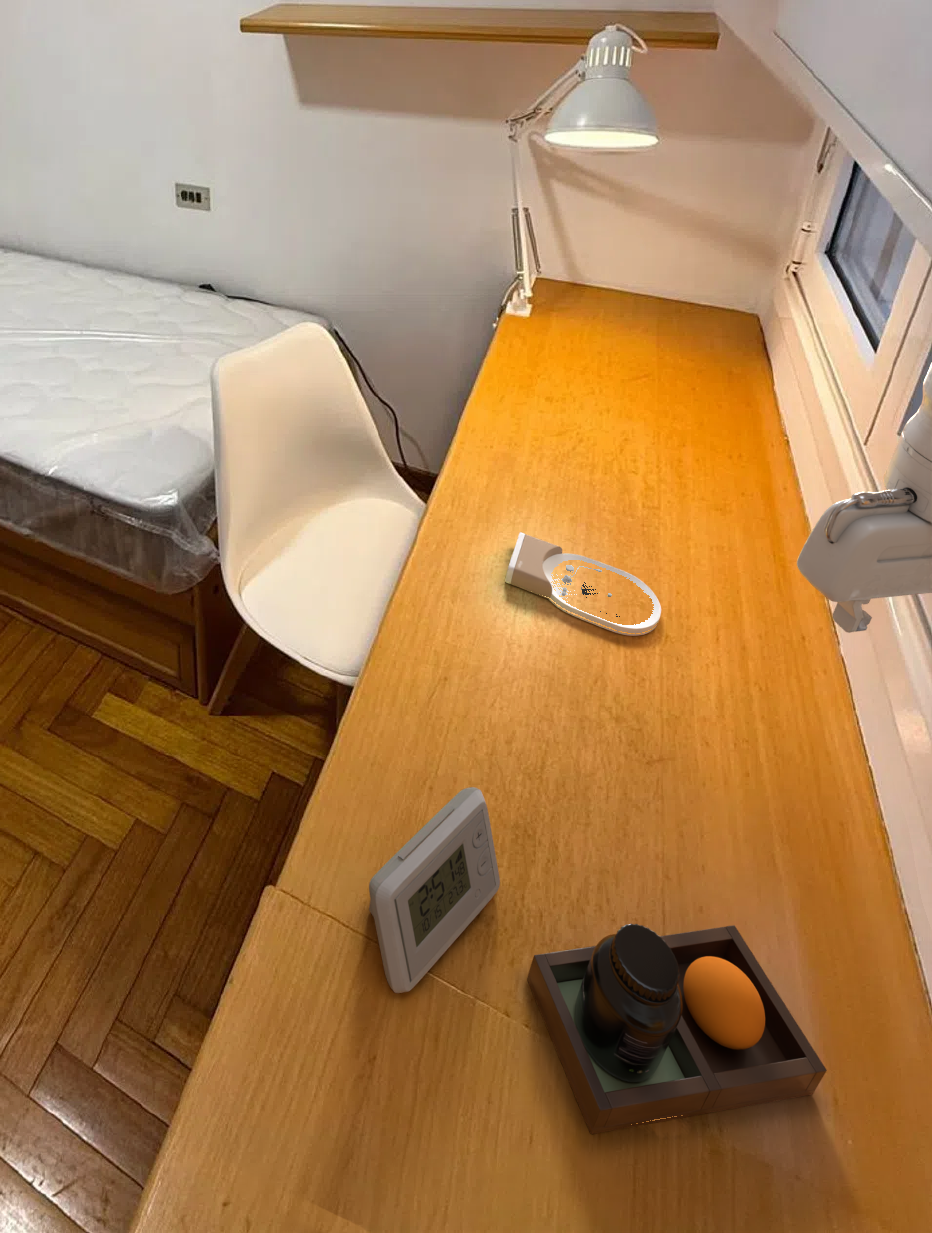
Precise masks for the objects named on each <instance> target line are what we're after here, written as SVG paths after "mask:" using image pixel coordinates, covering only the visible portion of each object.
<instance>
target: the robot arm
mask: <svg viewBox="0 0 932 1233" xmlns="http://www.w3.org/2000/svg"><path fill="white" fill-rule="evenodd" d="M928 368H929V369H928V371H927V373H926V375H925V378H924V380H923V382H922V383H923V384H922V400H921V404H920V406H919V408H918V409H917V411H916V412H915V413H914V414H913V415H912V416H911V417H910V418H909V420H907V422H906V423H905V425H904V427H903V429H902V431H901V433H900V436H899V439H898V441H897V443H896V446H895V448H894V450H893V453H892V455H891V457H890V459H889V462H888V464H887V467H886V469H885V471H884V473H883V476H882V483H883V485H884V487H885V490H881V491H876V492H875V491H873V492H872V491H861V492H860V491H859V492H857V493H854V494H852V495H851V497H850V498H847V499H842V500H839V501H837V502H835V503H832V504H831V505H830V506H829V507H827V509H826V510H825V511H823V514H821V516H820V517H819V519H818V520H817V521H816V523H815V525H814V526H813V528H812V530H811V532H810V533H809V535H808V537H807V539H806V540H805V543H804V544H803V547H802V549H801V551H800V552H799V555H798V557H797V559H796V567H797V569H798V571H799V573H800V574H801V575H802V576H803V578H804V579H805V580H806V581H807V582H808V583H809V584H810V585H811V586H812V587H813V588H814V589H816V590H817V591H818V592H819V593H820V594H821V595H822V596H824V598H826V599H827V600H829V601H830V602H834V603H836V605H835V608H834V610H833V612H832V619H833V621H834V622H835V624H837V625H838V626H839V628H841V629H842V630H843V631H844V632H845V633H848V634H850V633H856V632H864V631H867V629H868V625H869V624H870V623H871V621H872V619H873V617H872V615H870V614H869V613H868V612H867V611H866V610H864V609H863V606H862V605H868V604H870V602H871V600H874V599H883V598H892V597H903V596H914V595H923V594H932V363H930V366H929V367H928Z"/></svg>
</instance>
